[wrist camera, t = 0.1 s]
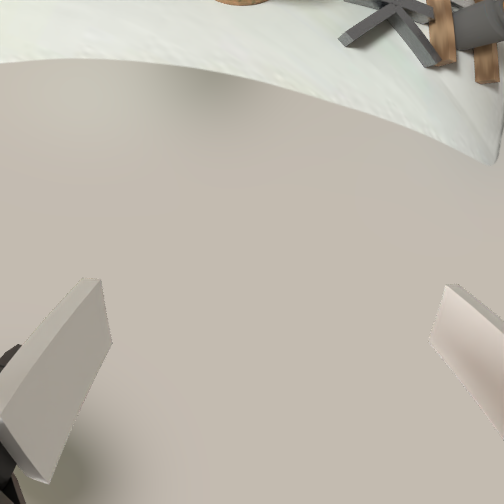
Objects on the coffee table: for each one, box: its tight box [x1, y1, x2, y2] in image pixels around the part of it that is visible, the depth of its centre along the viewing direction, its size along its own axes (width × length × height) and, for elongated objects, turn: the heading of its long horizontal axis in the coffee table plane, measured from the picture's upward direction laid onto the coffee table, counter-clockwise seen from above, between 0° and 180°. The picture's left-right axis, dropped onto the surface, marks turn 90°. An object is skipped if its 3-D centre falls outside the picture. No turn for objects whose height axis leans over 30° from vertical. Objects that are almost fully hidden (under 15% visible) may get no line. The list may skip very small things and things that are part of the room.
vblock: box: [338, 0, 442, 67], centre depth 29 cm, size 9×14×3 cm, turn 87°
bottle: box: [452, 0, 504, 50], centre depth 23 cm, size 6×6×15 cm
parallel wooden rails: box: [426, 0, 500, 84], centre depth 28 cm, size 16×10×4 cm, turn 177°
